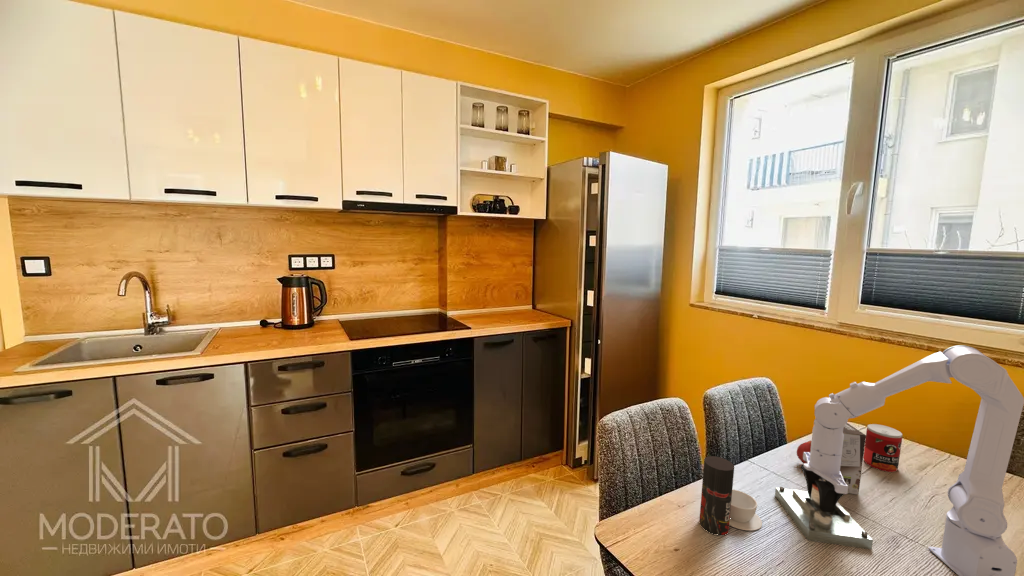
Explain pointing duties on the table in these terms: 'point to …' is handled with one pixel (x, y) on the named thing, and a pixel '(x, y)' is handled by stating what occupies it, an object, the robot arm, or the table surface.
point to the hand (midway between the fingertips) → (819, 504)
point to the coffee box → (852, 457)
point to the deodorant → (716, 495)
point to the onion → (803, 450)
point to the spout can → (816, 498)
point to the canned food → (882, 447)
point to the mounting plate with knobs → (822, 521)
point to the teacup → (744, 512)
